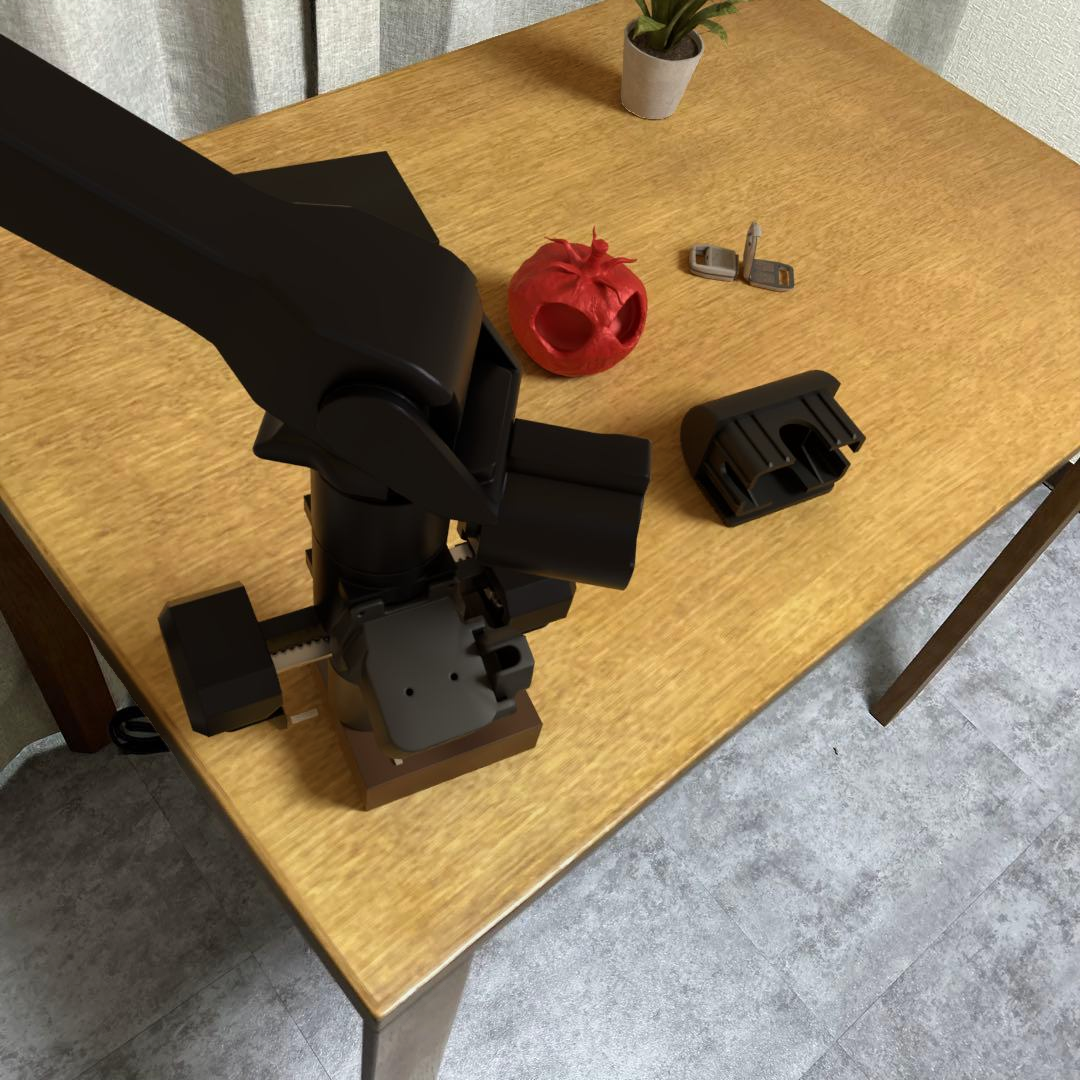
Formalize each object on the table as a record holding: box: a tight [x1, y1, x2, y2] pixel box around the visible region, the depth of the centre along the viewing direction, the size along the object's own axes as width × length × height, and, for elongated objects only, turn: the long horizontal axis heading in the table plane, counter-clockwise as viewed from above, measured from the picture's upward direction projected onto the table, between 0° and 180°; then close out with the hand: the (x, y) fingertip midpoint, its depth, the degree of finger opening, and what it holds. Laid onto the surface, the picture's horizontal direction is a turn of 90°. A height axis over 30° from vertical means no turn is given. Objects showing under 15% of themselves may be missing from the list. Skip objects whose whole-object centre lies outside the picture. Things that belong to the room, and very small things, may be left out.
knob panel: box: [289, 639, 544, 812], centre depth 61 cm, size 12×10×3 cm
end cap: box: [679, 369, 867, 528], centre depth 74 cm, size 10×7×7 cm
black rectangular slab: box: [233, 150, 441, 245], centre depth 81 cm, size 19×12×4 cm, turn 115°
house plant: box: [620, 0, 755, 119], centre depth 93 cm, size 14×14×16 cm
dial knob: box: [328, 656, 374, 731], centre depth 57 cm, size 4×4×5 cm
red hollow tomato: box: [506, 225, 649, 378], centre depth 77 cm, size 10×10×9 cm
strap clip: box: [688, 221, 796, 292], centre depth 87 cm, size 8×3×4 cm, turn 85°
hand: (370, 691), depth 59 cm, fingers open, 9 cm apart
